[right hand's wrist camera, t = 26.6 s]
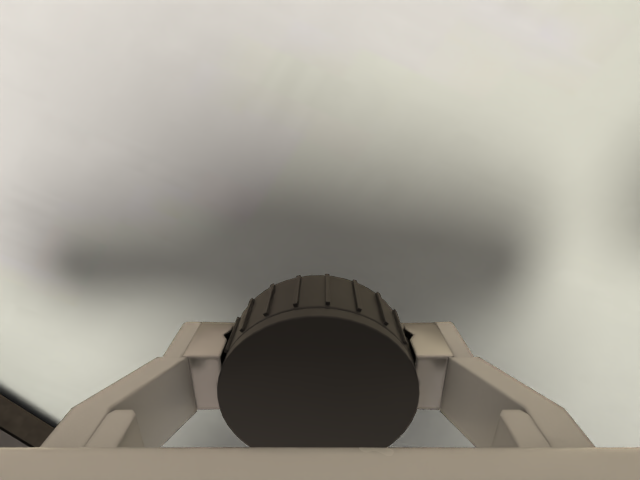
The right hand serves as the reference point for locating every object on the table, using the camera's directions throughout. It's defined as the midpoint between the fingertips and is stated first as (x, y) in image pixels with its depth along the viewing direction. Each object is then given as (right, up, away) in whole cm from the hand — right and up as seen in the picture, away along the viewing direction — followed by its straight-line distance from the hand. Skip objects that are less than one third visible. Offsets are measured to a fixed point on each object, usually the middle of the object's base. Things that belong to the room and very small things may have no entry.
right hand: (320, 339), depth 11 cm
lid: (0, -1, -2) cm, 2 cm away
